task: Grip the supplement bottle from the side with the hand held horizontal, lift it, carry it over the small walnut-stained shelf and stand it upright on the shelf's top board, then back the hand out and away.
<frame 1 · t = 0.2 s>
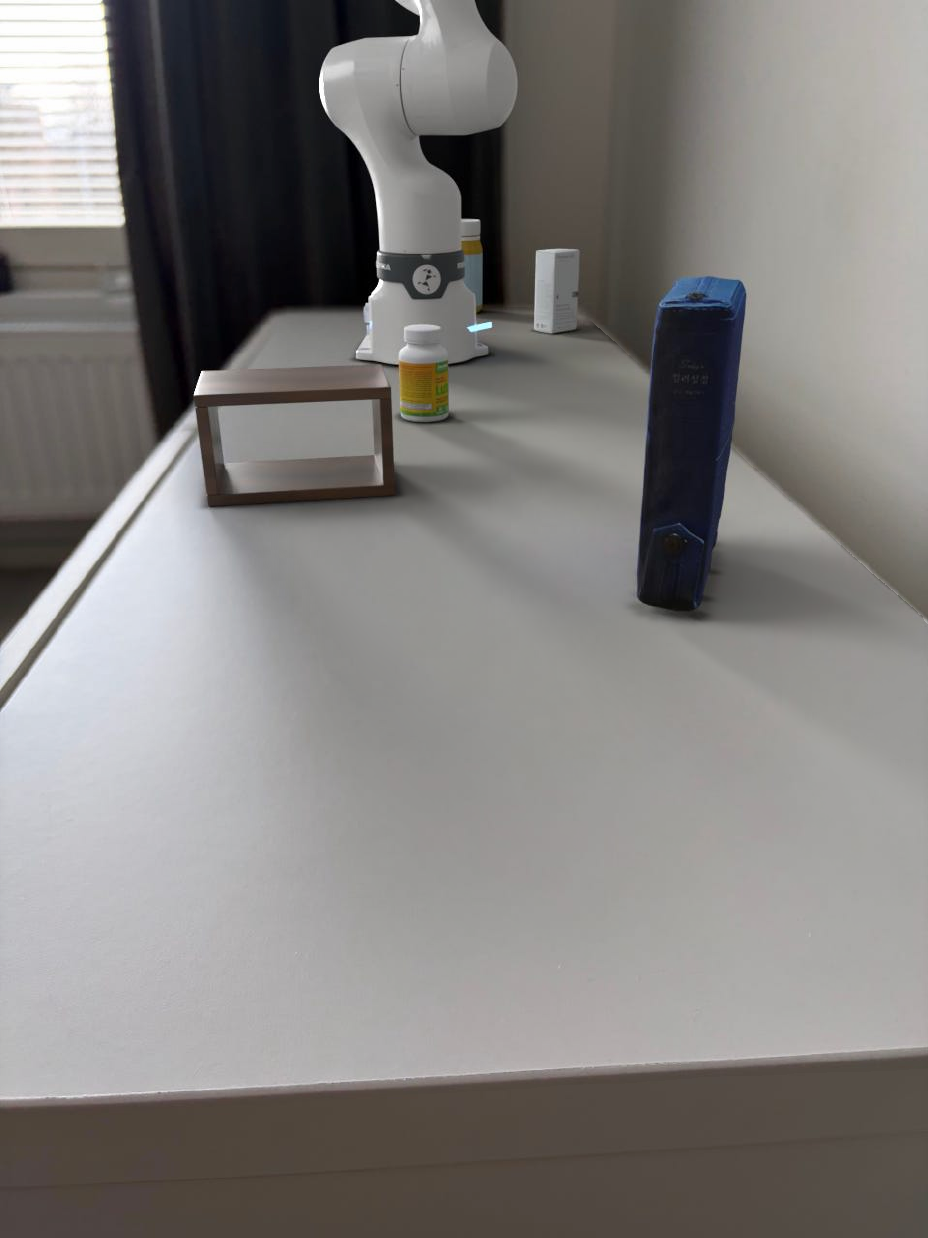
cosmetic box: (555, 331, 155), on the table
bottle: (462, 312, 171), on the table
supplement bottle: (424, 418, 108), on the table
shelf: (301, 484, 87), on the table
book: (675, 578, 69), on the table
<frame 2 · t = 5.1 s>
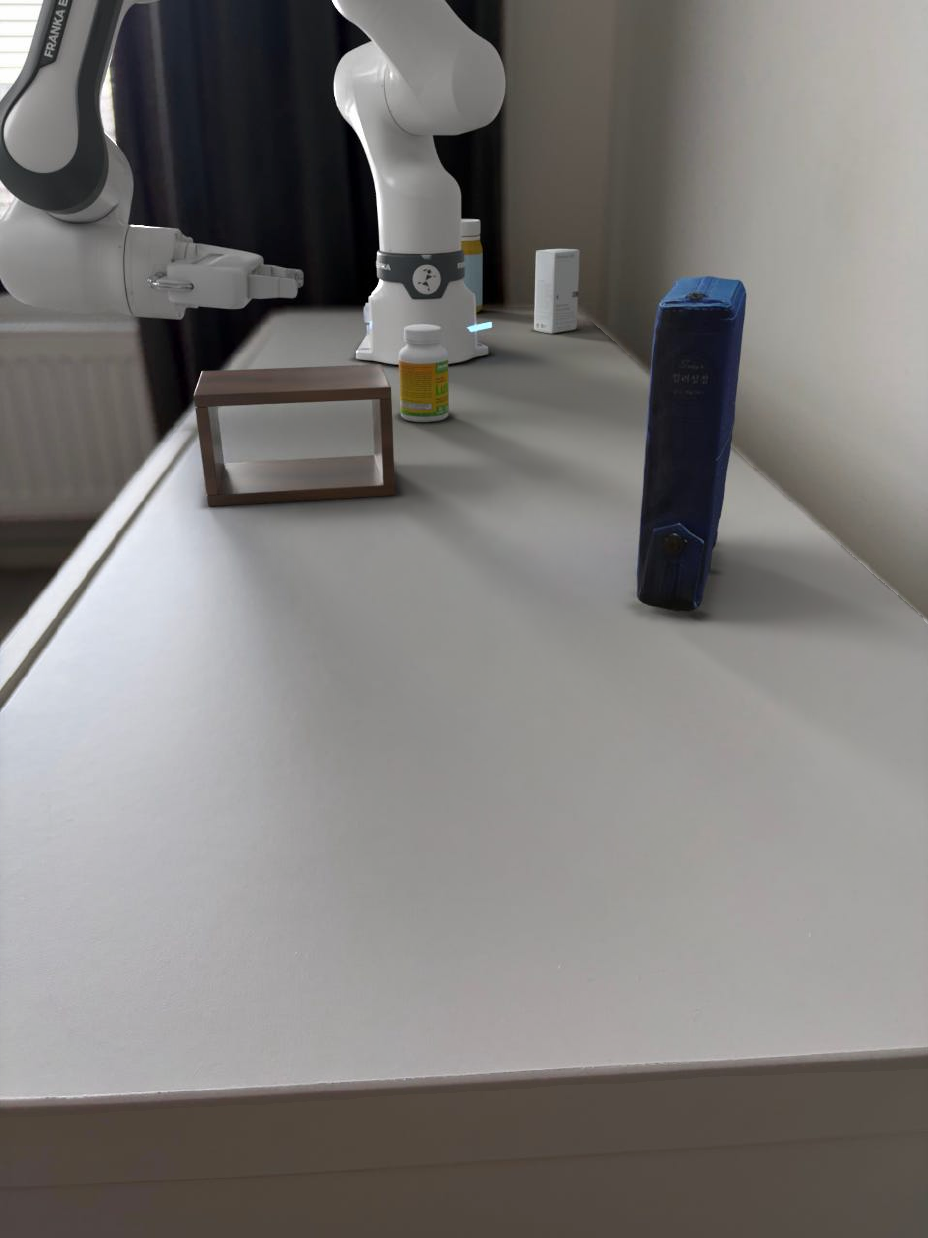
hand: (300, 283, 100), 14 cm above the table, tool horizontal, fingers open, 8 cm apart
nothing on the table moved.
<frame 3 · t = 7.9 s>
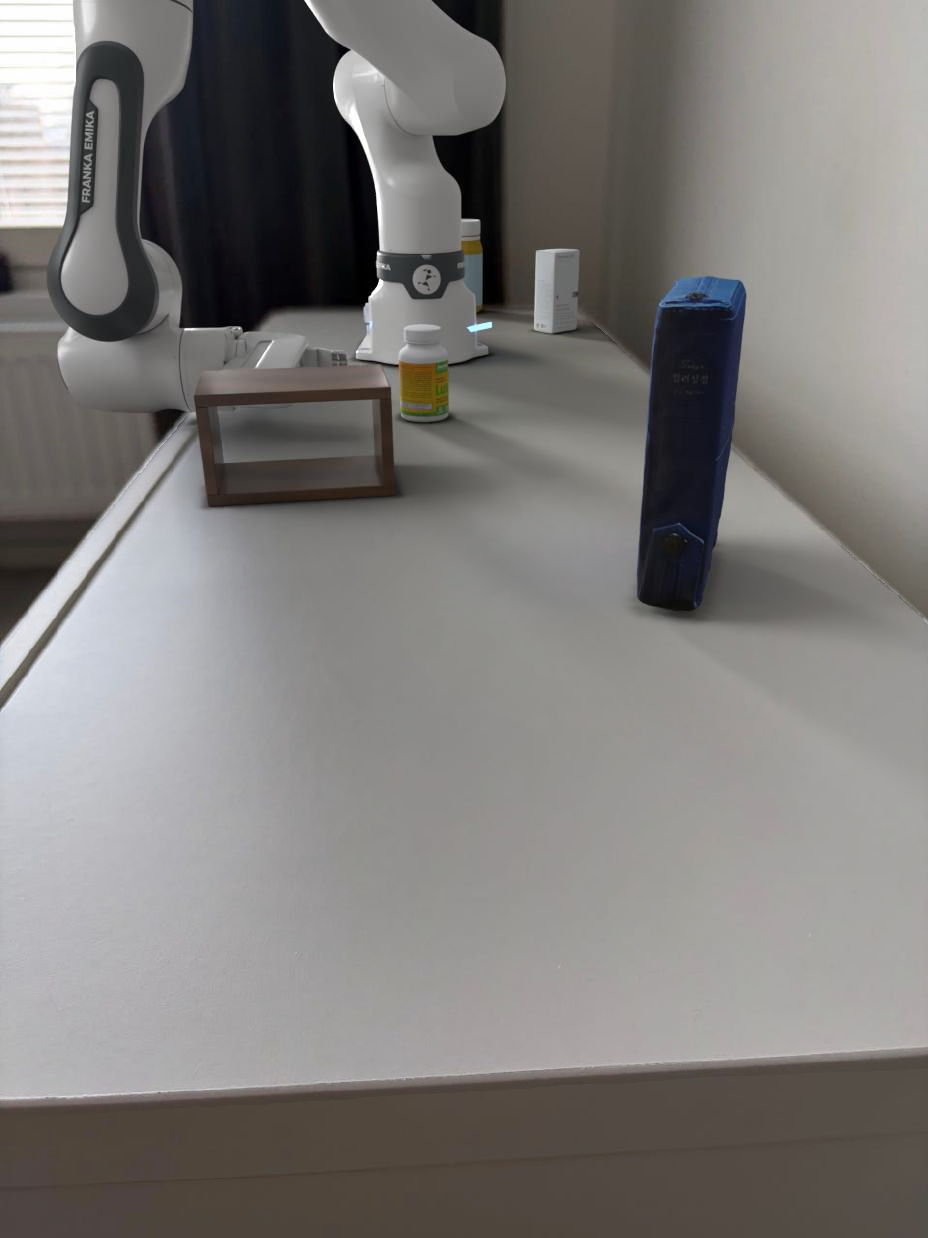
hand: (345, 368, 105), 5 cm above the table, tool horizontal, fingers open, 8 cm apart
nothing on the table moved.
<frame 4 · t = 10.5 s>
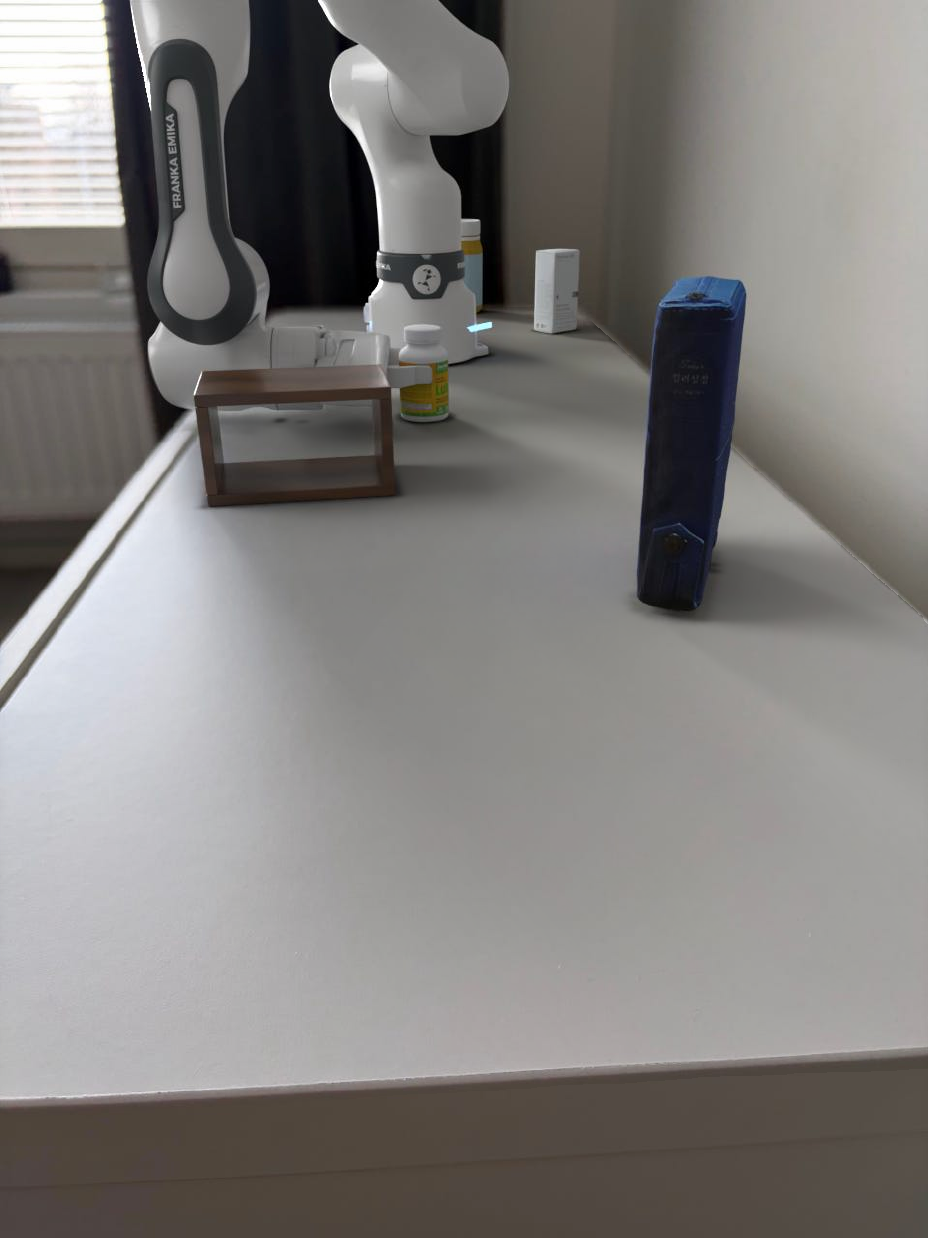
hand: (431, 366, 105), 6 cm above the table, tool horizontal, fingers closed on supplement bottle, 5 cm apart
supplement bottle: (424, 418, 108), on the table, touching gripper
everything else where it was.
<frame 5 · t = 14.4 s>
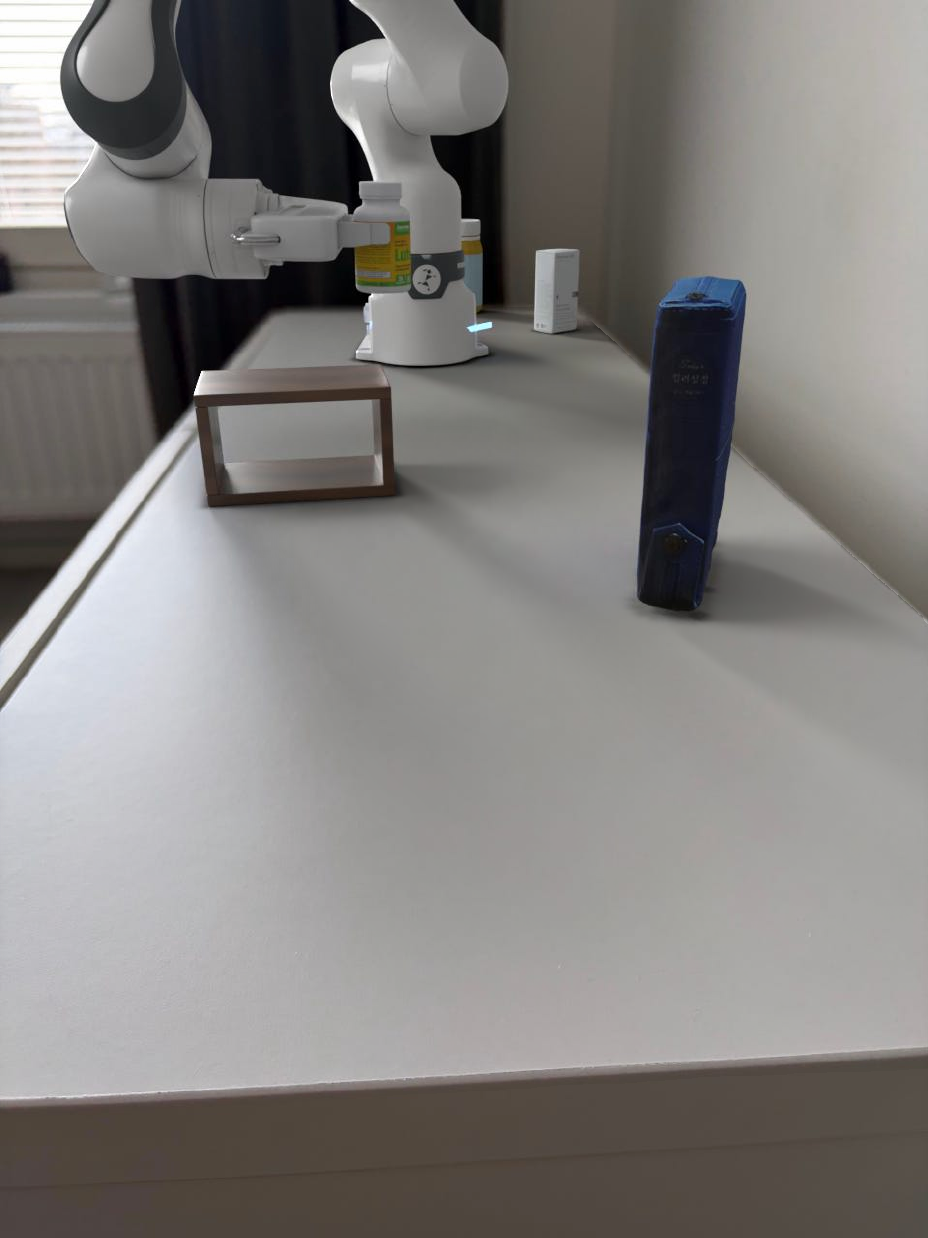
hand: (391, 230, 92), 20 cm above the table, tool horizontal, fingers closed on supplement bottle, 5 cm apart
supplement bottle: (383, 292, 94), point 14 cm above the table, touching gripper
everything else where it was.
when the fingers open (15 cm above the table, at t = 18.7 s): supplement bottle stays where it is, resting on shelf.
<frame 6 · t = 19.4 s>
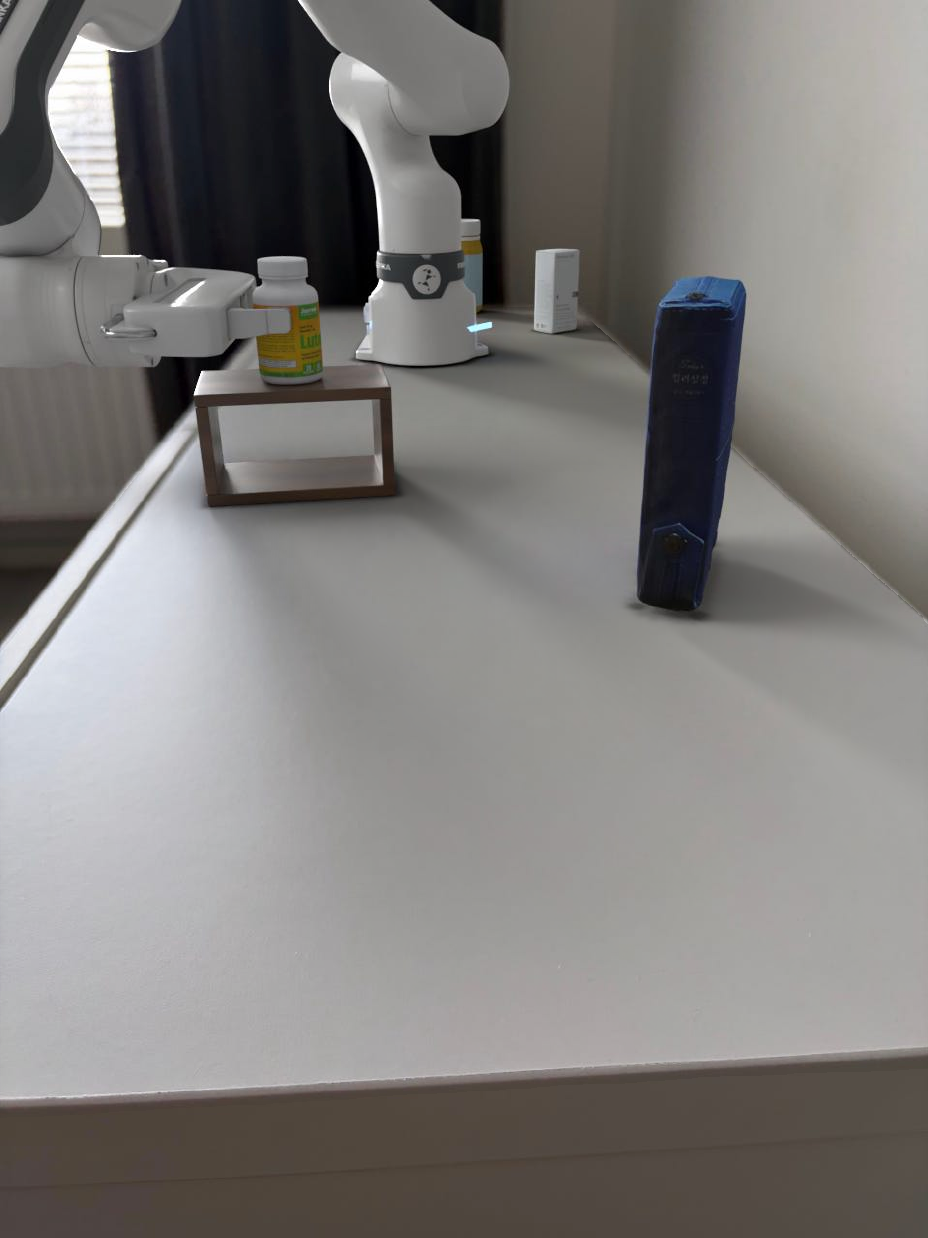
hand: (297, 310, 80), 15 cm above the table, tool horizontal, fingers open, 8 cm apart
supplement bottle: (292, 381, 83), point 9 cm above the table, touching shelf
everything else where it was.
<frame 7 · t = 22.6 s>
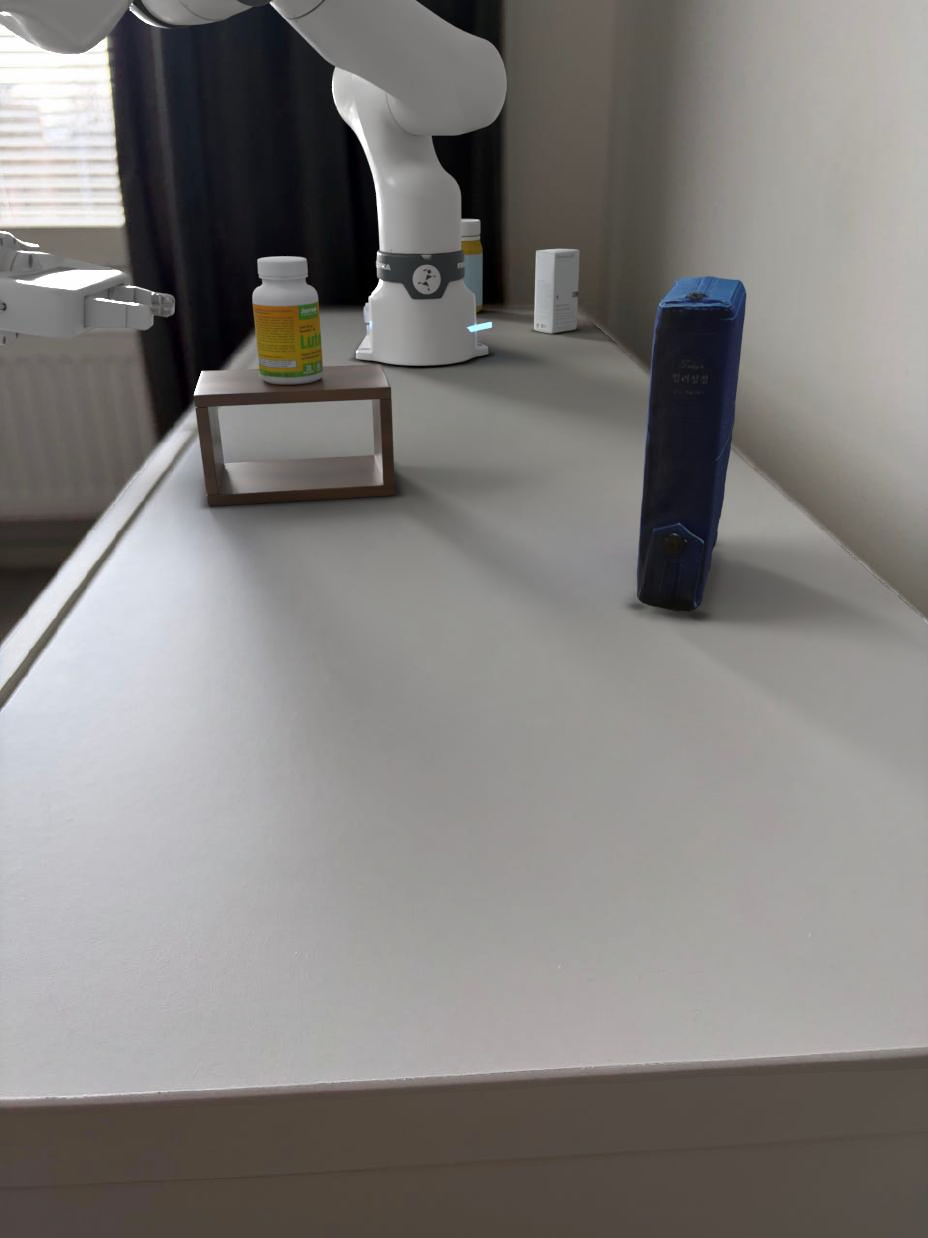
hand: (163, 312, 80), 15 cm above the table, tool horizontal, fingers open, 8 cm apart
nothing on the table moved.
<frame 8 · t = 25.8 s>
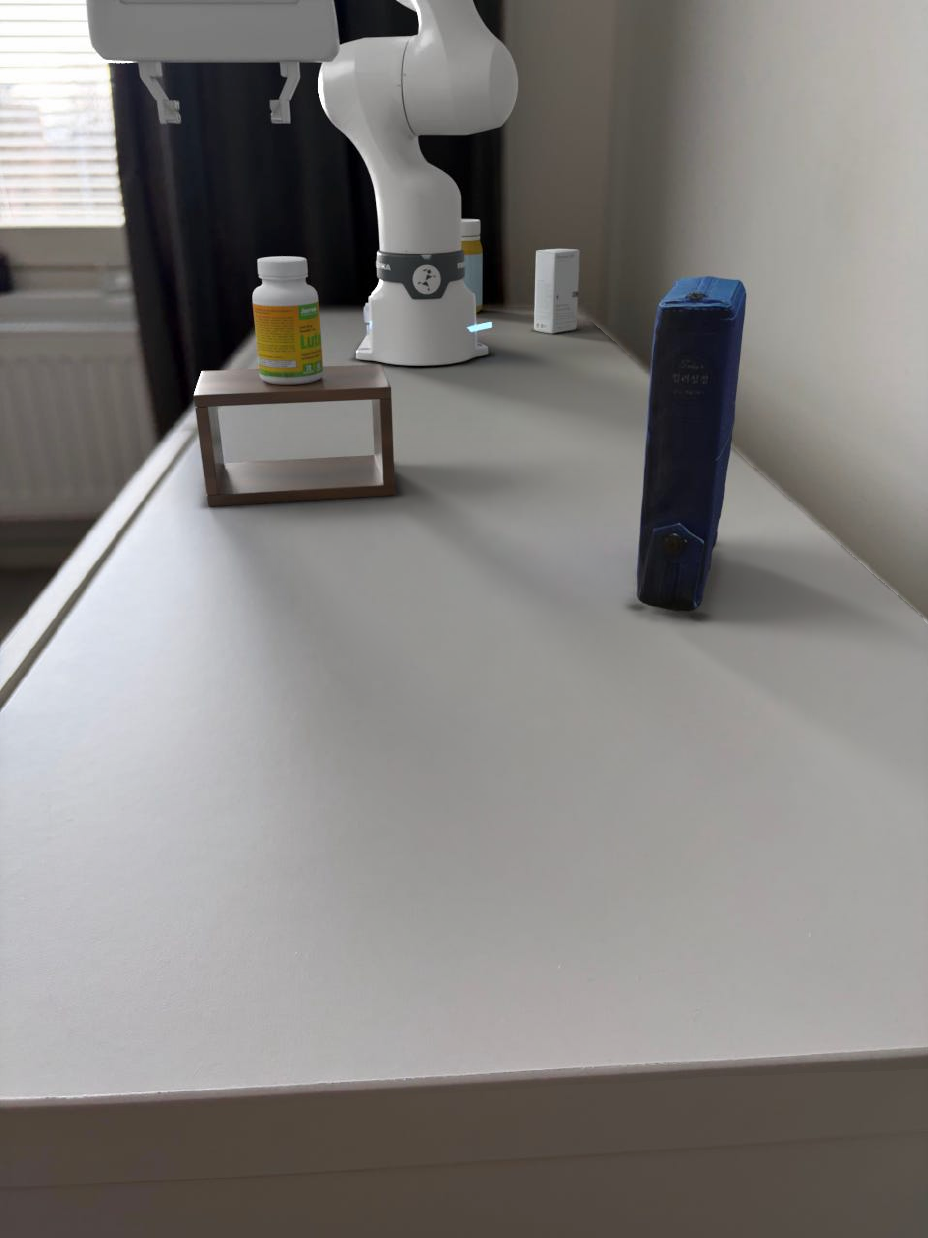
hand: (226, 123, 83), 29 cm above the table, tool pointing down, fingers open, 8 cm apart
nothing on the table moved.
at the end: supplement bottle inside the target area on the shelf (0.1 cm from its centre), point 9.3 cm above the shelf's base; supplement bottle tilted 0°; the gripper is holding nothing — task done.
